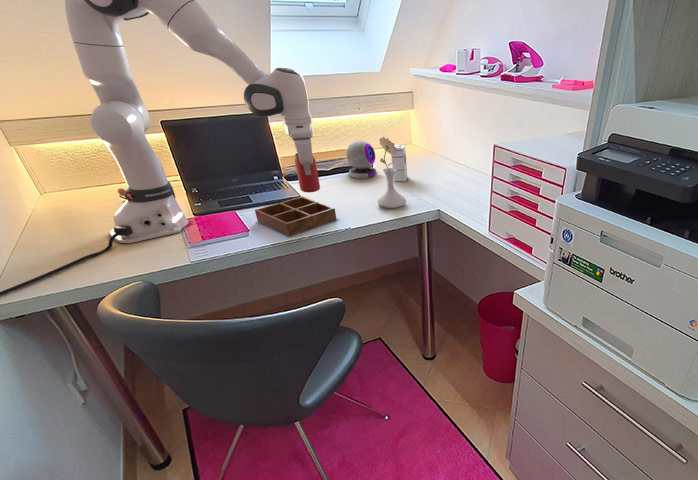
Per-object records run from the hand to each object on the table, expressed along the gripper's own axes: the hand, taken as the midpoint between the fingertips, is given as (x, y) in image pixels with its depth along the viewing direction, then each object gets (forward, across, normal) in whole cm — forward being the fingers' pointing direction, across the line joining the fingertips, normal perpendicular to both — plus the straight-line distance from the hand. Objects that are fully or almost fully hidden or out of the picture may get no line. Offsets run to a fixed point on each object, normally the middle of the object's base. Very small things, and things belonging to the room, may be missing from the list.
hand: (307, 171), depth 143 cm
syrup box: (+18, -39, +42) cm, 60 cm away
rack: (+18, -2, -6) cm, 19 cm away
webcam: (+18, -52, +27) cm, 61 cm away
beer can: (+7, 0, 0) cm, 7 cm away
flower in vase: (+18, -8, +30) cm, 35 cm away
